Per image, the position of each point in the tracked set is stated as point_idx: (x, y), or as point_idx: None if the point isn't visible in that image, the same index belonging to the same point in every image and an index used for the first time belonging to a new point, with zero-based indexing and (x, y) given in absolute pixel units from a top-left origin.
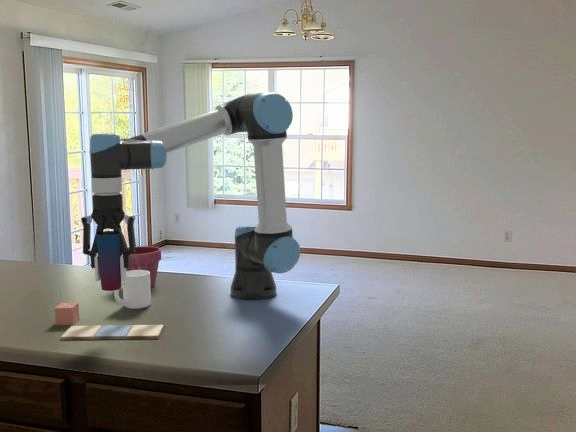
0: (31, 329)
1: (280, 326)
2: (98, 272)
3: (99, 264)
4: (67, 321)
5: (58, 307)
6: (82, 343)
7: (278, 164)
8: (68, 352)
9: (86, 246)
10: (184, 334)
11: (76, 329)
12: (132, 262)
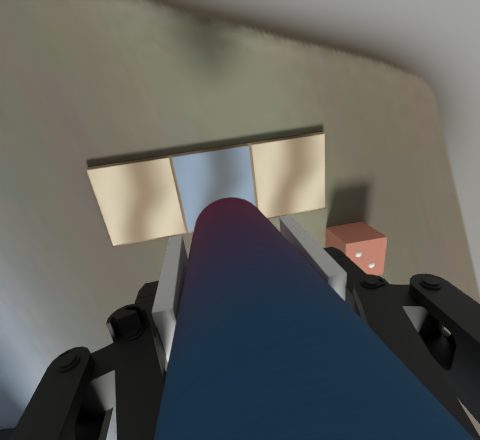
0: (402, 189)
1: None
2: (292, 240)
3: (296, 250)
4: (341, 228)
5: (379, 243)
6: (264, 113)
7: None
8: (274, 44)
9: (460, 317)
10: (35, 205)
11: (306, 186)
12: None
